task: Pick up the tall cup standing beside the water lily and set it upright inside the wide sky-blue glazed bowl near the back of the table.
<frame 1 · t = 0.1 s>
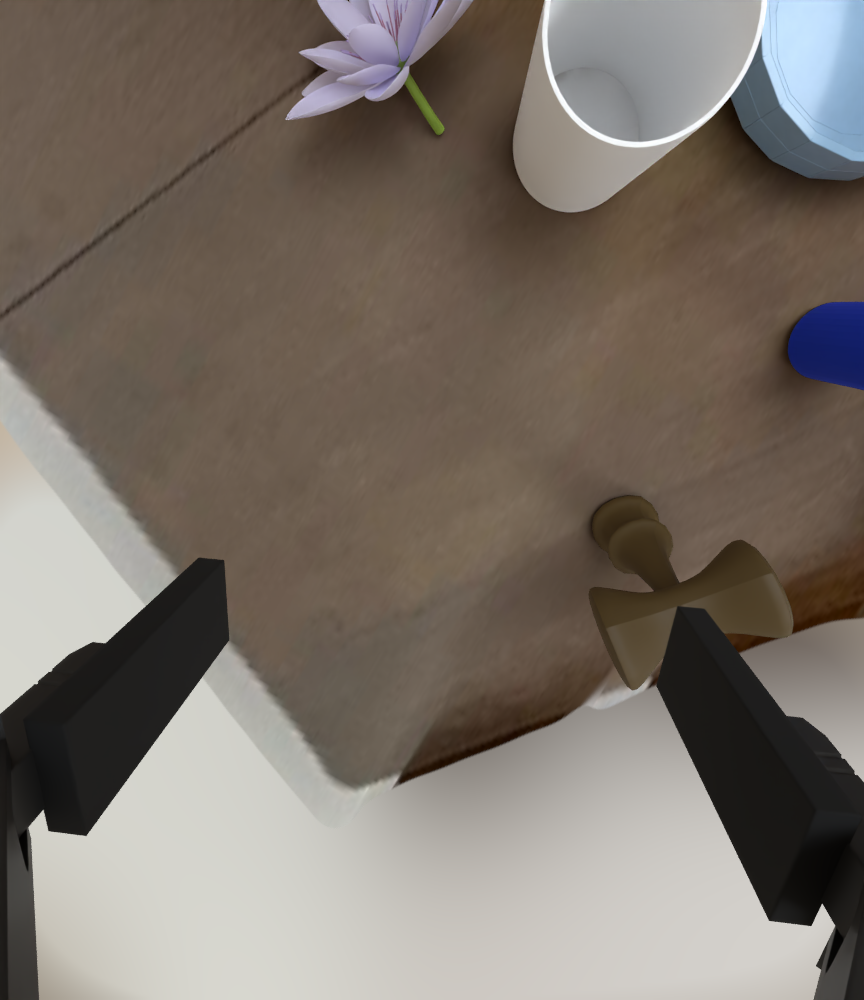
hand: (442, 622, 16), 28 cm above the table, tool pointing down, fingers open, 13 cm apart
cup: (575, 142, 35), on the table
water lily: (396, 57, 35), on the table
beverage can: (820, 340, 38), on the table
kendama: (622, 521, 44), on the table
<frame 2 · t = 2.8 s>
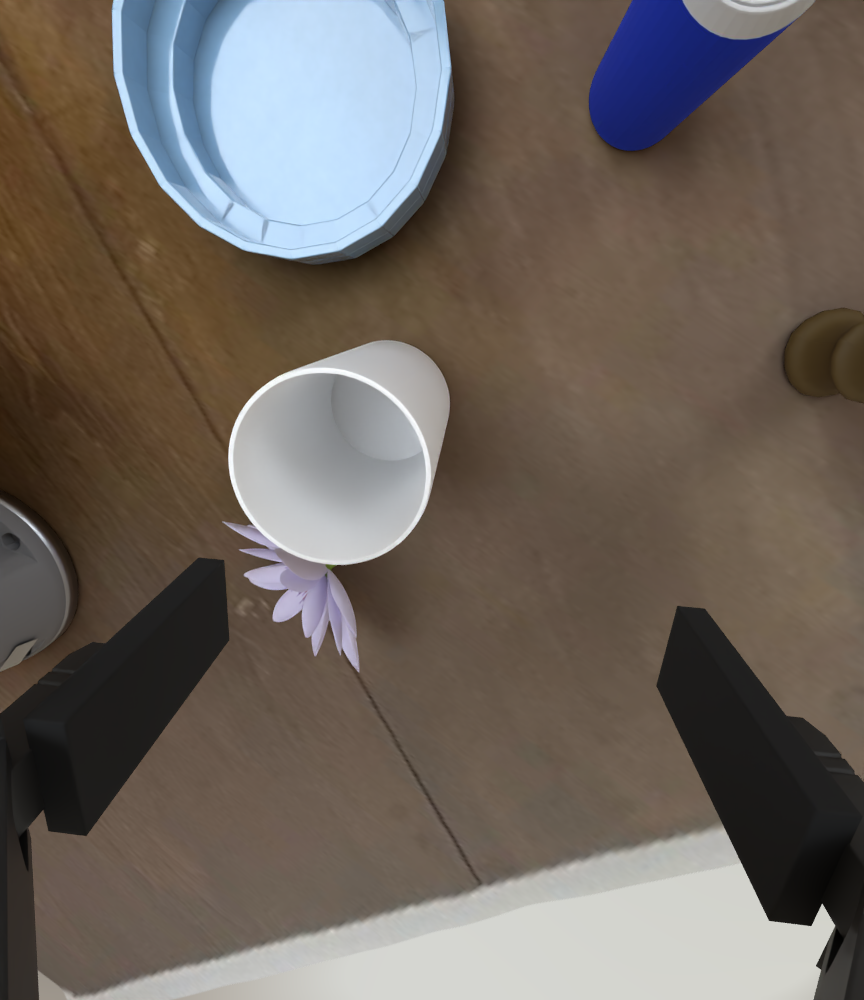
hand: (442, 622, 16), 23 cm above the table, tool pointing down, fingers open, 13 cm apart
cup: (389, 403, 37), on the table
water lily: (314, 550, 41), on the table
beverage can: (633, 100, 30), on the table
bowl: (308, 106, 31), on the table
kendama: (820, 352, 34), on the table
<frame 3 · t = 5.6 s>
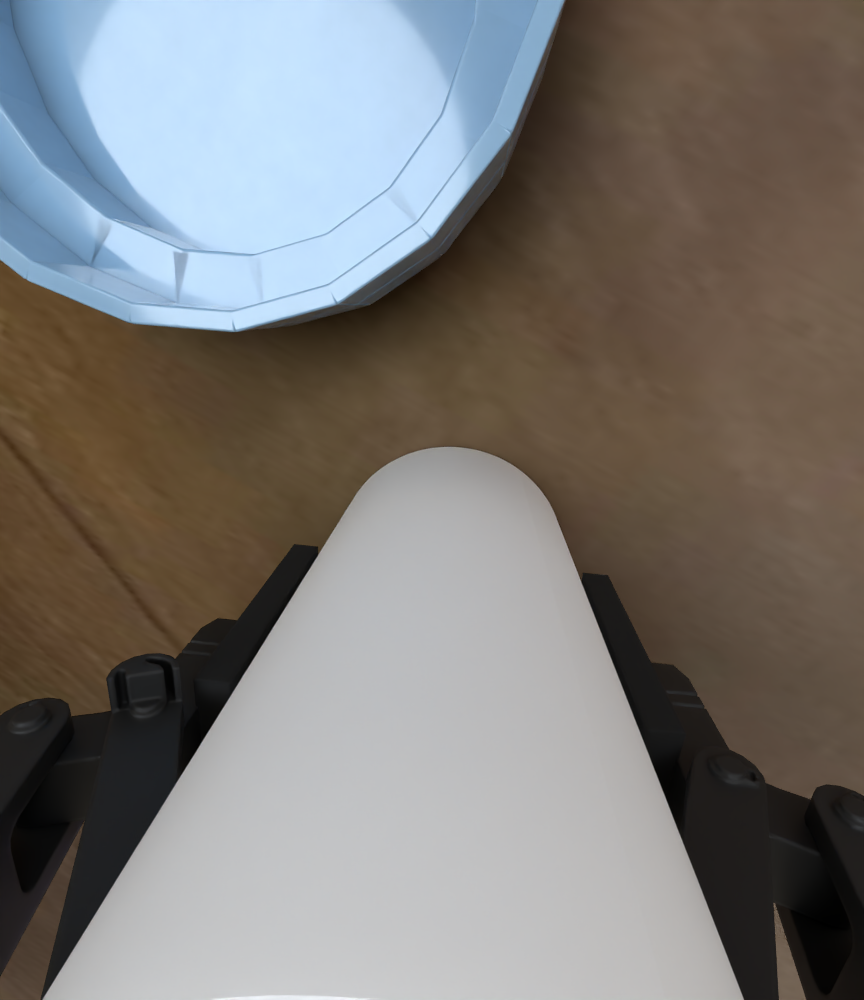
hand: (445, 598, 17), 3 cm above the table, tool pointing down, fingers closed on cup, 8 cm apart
cup: (449, 551, 20), on the table, touching gripper
bowl: (247, 8, 15), on the table
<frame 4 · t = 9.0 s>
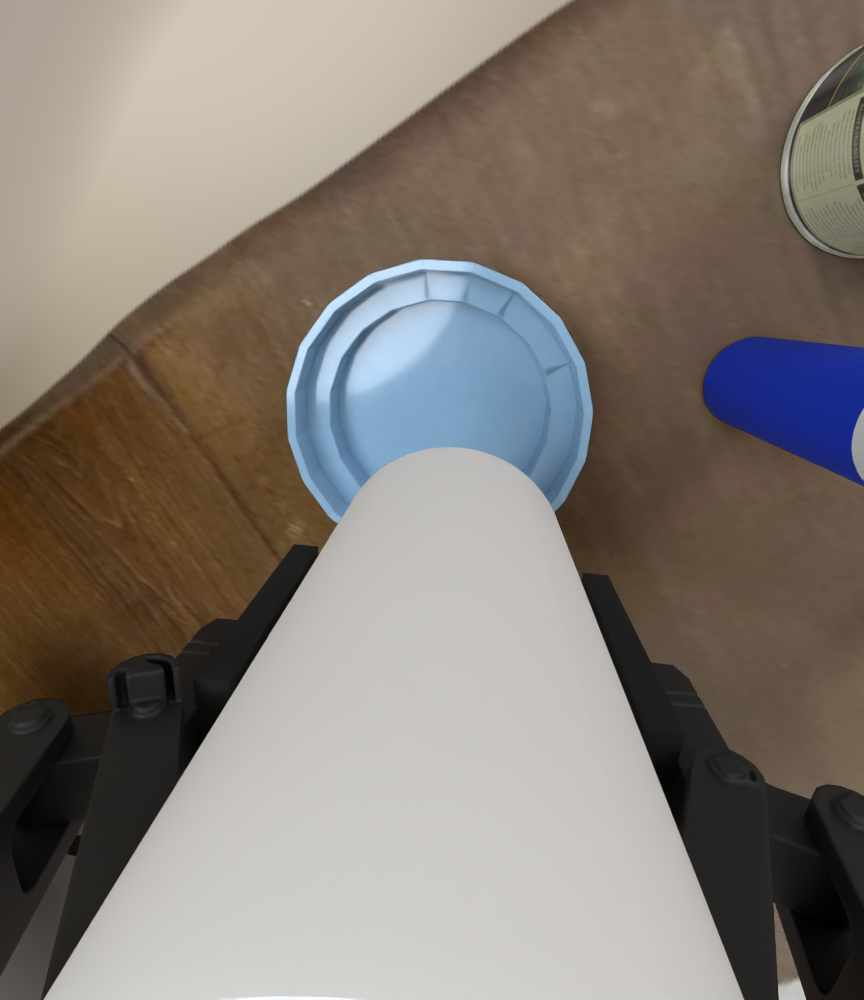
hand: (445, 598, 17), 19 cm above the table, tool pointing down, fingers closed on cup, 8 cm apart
cup: (450, 551, 20), point 16 cm above the table, touching gripper
beverage can: (742, 380, 33), on the table
bowl: (441, 409, 34), on the table
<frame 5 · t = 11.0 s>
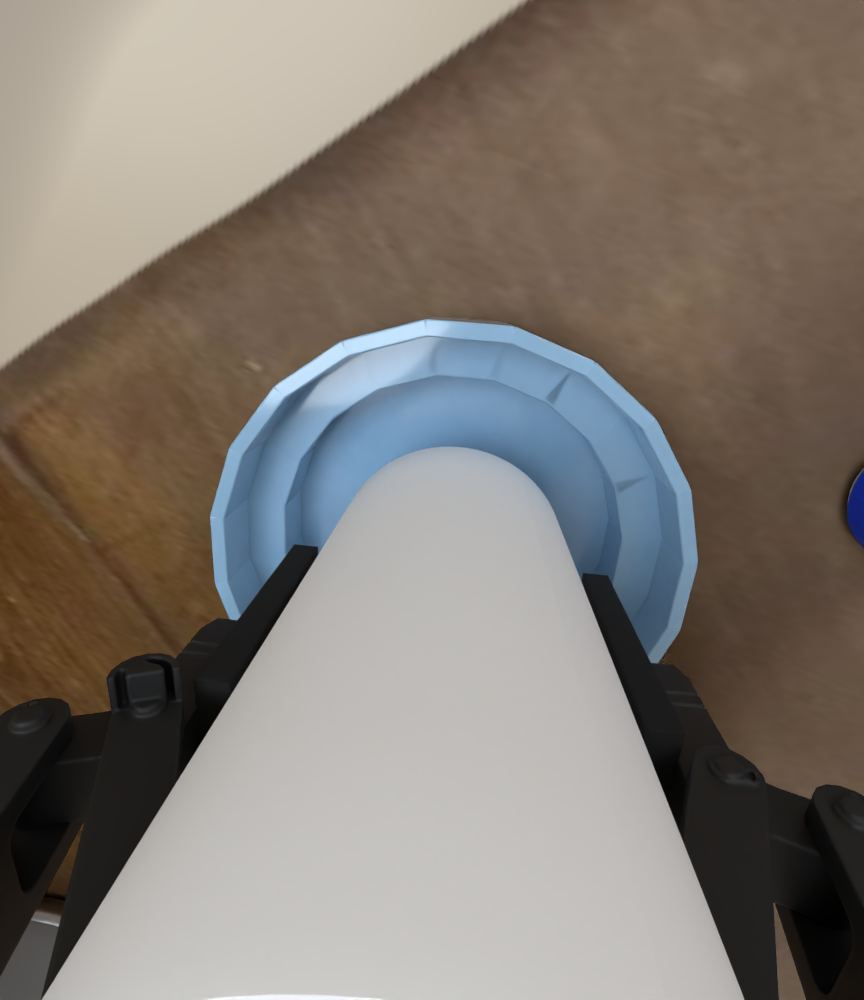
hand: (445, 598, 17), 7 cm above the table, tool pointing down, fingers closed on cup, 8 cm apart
cup: (449, 551, 20), point 3 cm above the table, touching gripper
bowl: (451, 520, 23), on the table
when the fingers open (4 cm above the table, at t = 12.4 s): cup stays where it is, resting on bowl.
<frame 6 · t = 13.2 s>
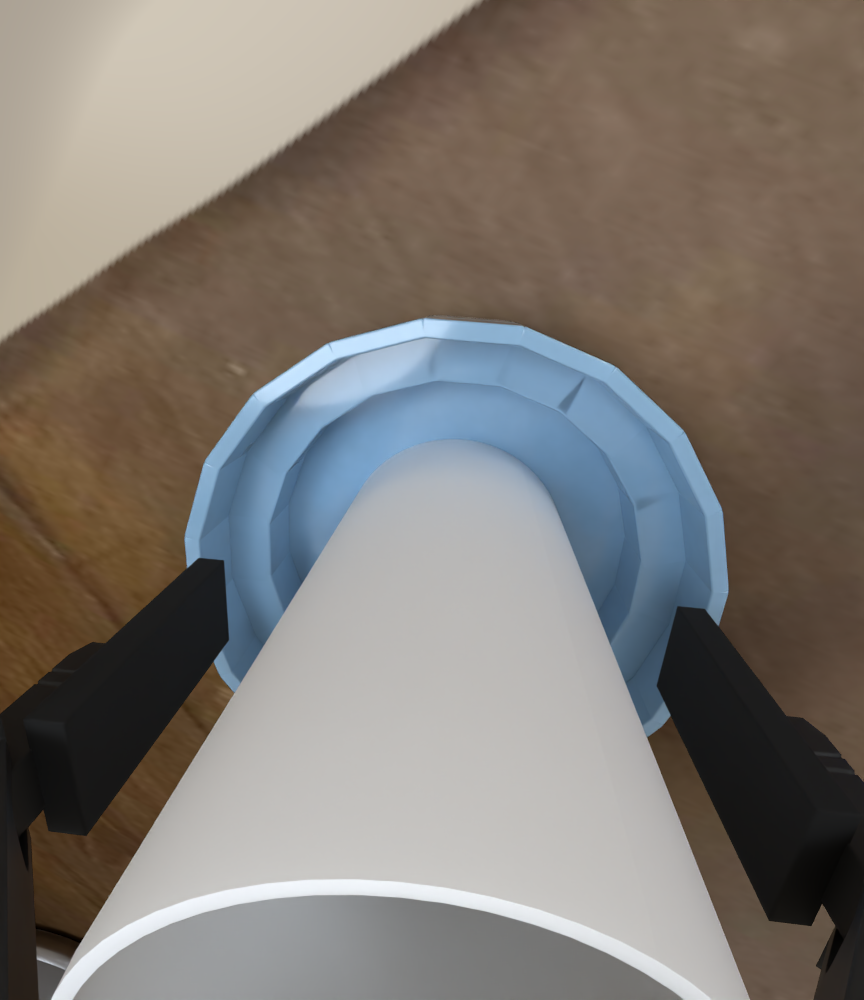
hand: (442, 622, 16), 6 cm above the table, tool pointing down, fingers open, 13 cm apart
cup: (453, 540, 21), resting on bowl
bowl: (452, 536, 22), on the table
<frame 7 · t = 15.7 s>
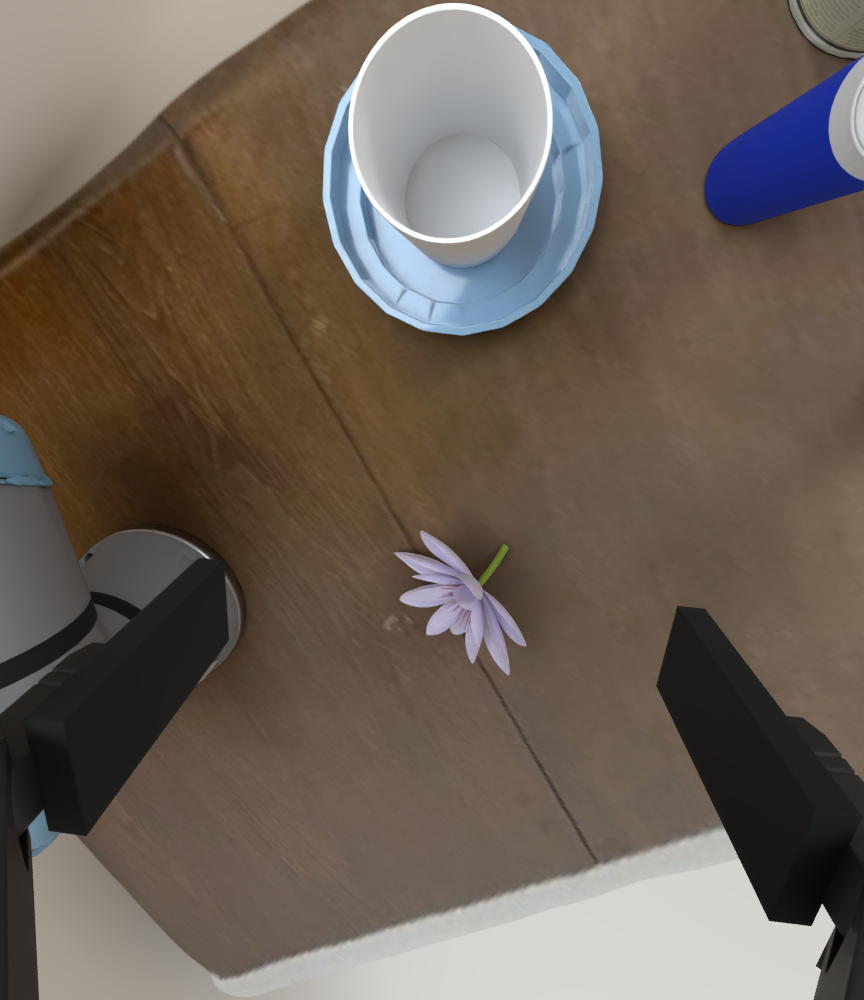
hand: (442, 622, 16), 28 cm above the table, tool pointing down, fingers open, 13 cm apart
cup: (462, 202, 37), resting on bowl
water lily: (454, 571, 47), on the table
beverage can: (741, 183, 36), on the table
bowl: (462, 203, 37), on the table
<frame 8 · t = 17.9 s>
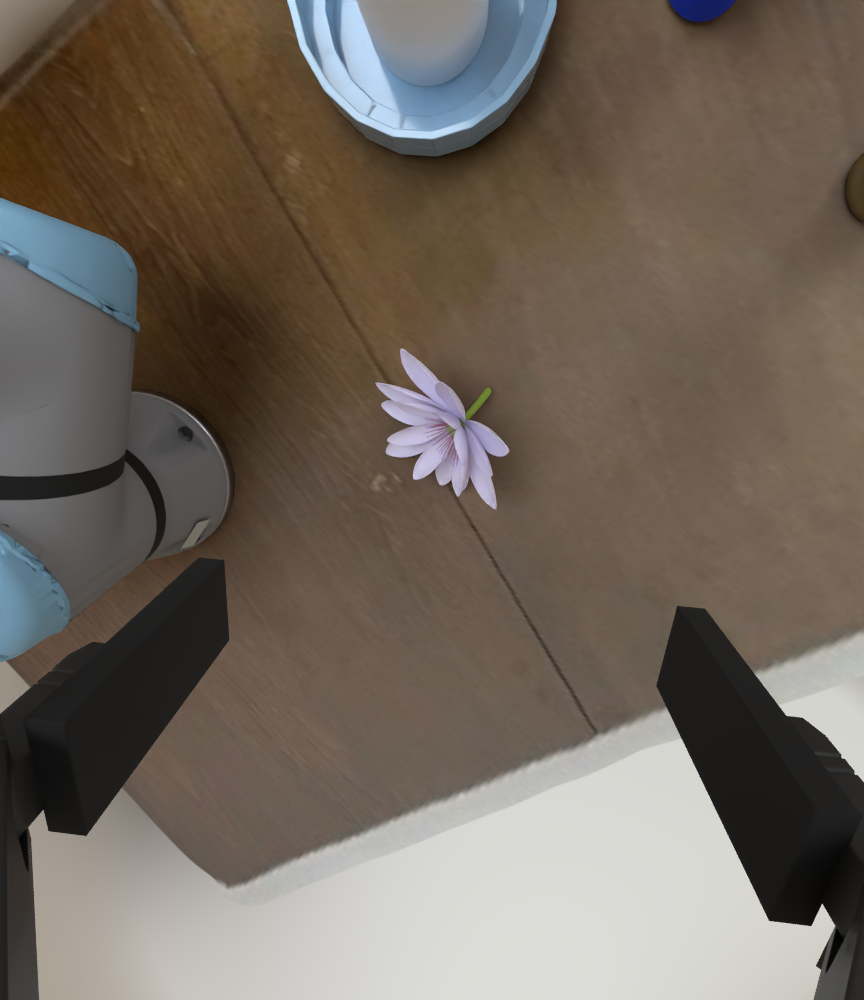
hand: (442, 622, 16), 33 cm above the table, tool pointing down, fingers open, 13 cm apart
cup: (427, 15, 37), resting on bowl
water lily: (439, 422, 47), on the table
bowl: (427, 19, 38), on the table
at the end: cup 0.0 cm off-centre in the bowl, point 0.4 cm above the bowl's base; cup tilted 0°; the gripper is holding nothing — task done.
